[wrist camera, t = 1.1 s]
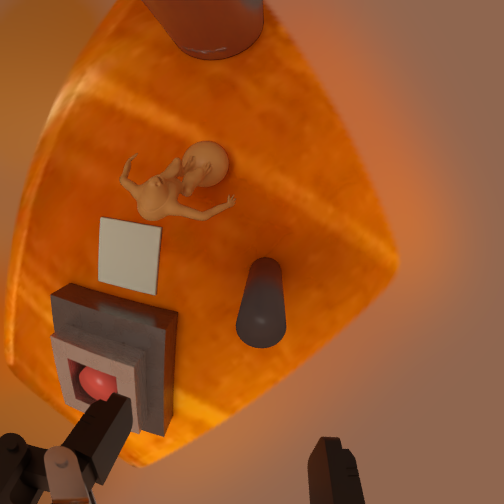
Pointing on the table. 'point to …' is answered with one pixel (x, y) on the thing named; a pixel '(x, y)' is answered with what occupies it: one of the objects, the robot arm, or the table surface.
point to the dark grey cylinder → (262, 305)
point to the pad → (129, 254)
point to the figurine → (180, 183)
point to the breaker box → (116, 351)
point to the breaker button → (97, 383)
